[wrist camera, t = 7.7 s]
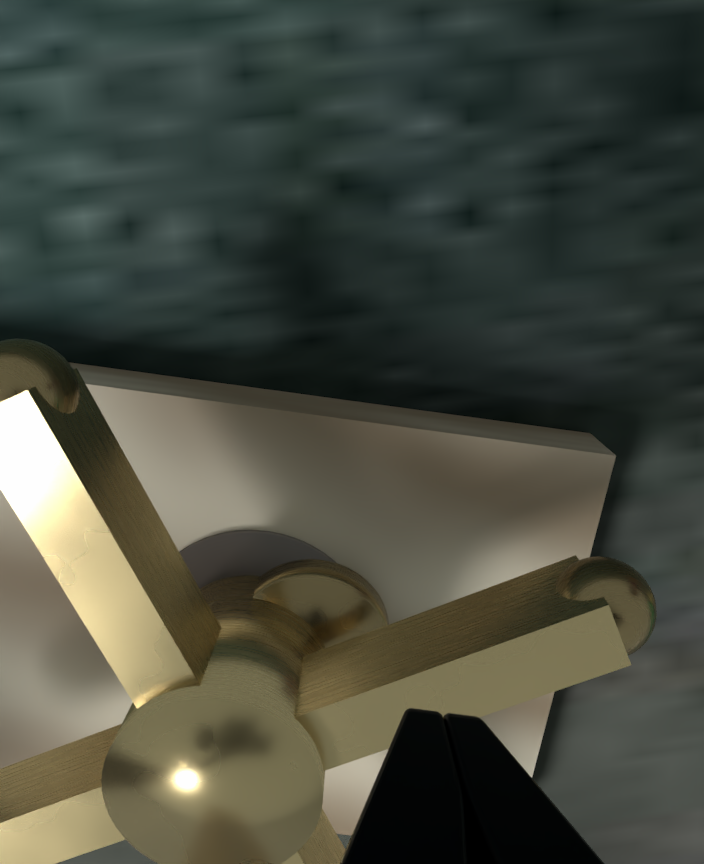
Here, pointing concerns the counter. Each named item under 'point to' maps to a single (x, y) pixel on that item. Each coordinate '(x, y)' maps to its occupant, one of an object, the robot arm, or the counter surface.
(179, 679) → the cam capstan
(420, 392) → the counter surface
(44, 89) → the counter surface
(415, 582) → the latch board
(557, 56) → the counter surface
